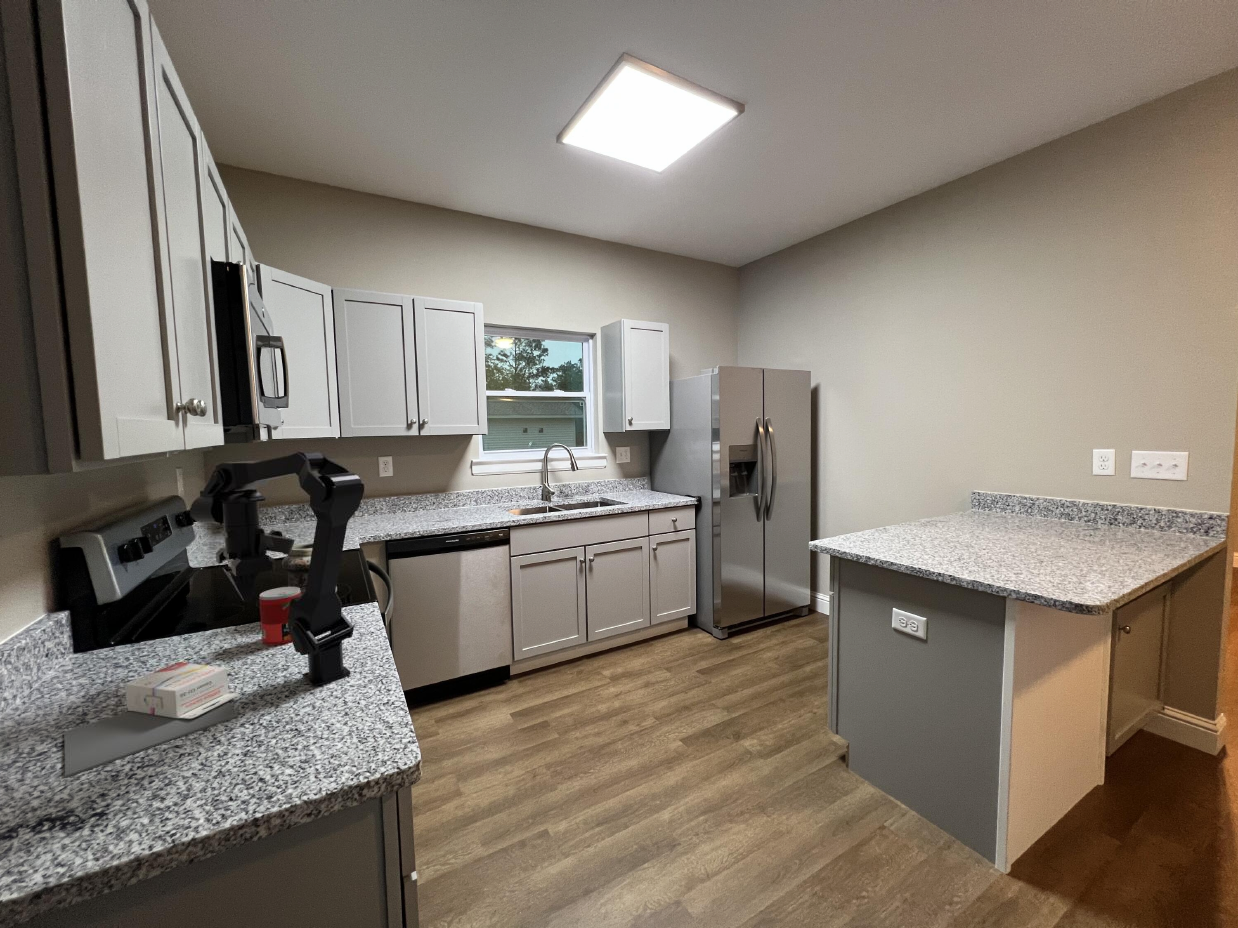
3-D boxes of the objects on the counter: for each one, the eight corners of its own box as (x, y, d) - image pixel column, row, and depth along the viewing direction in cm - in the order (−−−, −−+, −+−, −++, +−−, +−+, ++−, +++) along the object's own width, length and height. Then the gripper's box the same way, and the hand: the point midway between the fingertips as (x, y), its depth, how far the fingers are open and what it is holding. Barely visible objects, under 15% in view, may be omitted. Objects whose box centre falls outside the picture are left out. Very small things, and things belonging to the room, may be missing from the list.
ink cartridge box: (179, 659, 92) (241, 667, 88) (181, 686, 92) (243, 695, 88) (123, 682, 84) (188, 692, 80) (125, 711, 84) (190, 722, 80)
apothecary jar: (330, 618, 127) (326, 548, 125) (276, 624, 123) (271, 552, 122) (343, 603, 138) (339, 538, 137) (294, 608, 135) (289, 542, 134)
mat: (238, 716, 82) (237, 714, 82) (65, 777, 68) (65, 775, 68) (217, 685, 93) (217, 684, 93) (64, 732, 78) (64, 731, 78)
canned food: (289, 645, 110) (285, 596, 109) (253, 646, 110) (249, 597, 110) (311, 631, 118) (308, 586, 117) (277, 632, 118) (274, 586, 117)
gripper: (303, 523, 99) (307, 600, 100) (276, 514, 112) (280, 583, 113) (233, 532, 91) (239, 615, 92) (212, 522, 104) (218, 595, 105)
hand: (247, 601), depth 101 cm, fingers closed
